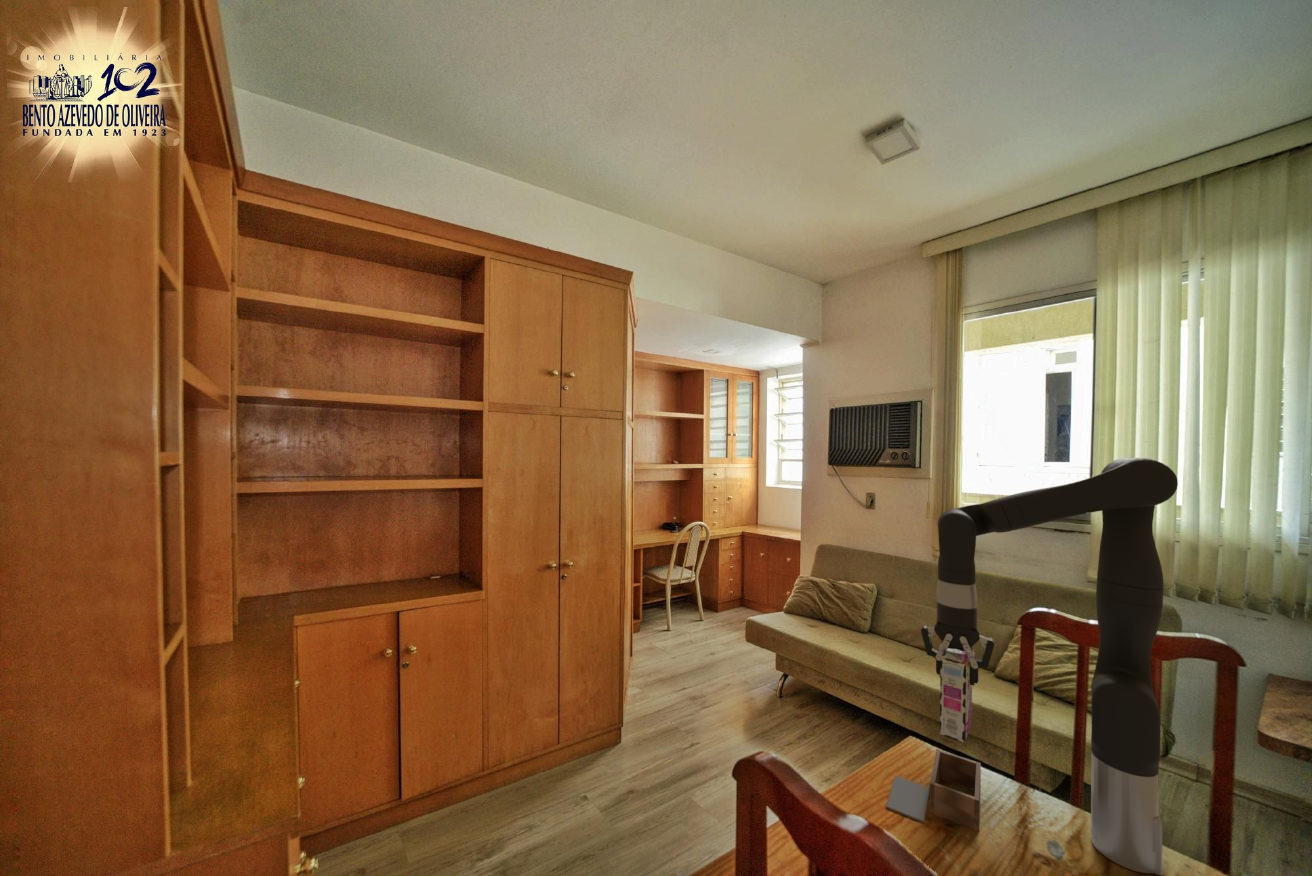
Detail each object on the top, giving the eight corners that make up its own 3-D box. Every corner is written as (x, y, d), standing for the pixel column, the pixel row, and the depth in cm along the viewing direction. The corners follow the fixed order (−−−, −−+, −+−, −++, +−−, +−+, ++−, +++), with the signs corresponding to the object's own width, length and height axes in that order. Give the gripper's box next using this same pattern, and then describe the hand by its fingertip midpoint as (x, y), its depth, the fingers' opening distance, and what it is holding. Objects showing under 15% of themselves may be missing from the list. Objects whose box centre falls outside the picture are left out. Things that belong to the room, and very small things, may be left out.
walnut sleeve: (980, 790, 108) (980, 763, 109) (979, 831, 96) (979, 801, 97) (936, 774, 113) (936, 748, 114) (929, 812, 101) (930, 783, 102)
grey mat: (929, 789, 108) (929, 788, 108) (923, 823, 98) (923, 821, 98) (895, 777, 112) (895, 775, 112) (886, 808, 102) (886, 806, 102)
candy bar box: (967, 745, 99) (966, 664, 100) (939, 735, 102) (938, 657, 103) (973, 722, 108) (973, 647, 108) (947, 714, 111) (947, 642, 112)
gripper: (996, 603, 105) (996, 683, 105) (921, 592, 113) (921, 665, 113) (996, 612, 99) (997, 697, 98) (917, 599, 107) (917, 677, 107)
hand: (956, 679), depth 106 cm, fingers closed on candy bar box, 5 cm apart
